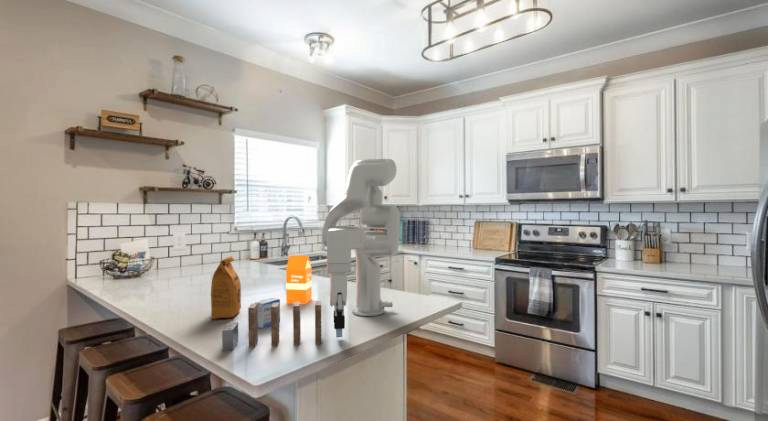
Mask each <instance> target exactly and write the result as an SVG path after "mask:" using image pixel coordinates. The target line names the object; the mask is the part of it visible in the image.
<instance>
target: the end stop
mask: <svg viewBox="0 0 768 421" xmlns="http://www.w3.org/2000/svg"><path fill="white" fill-rule="evenodd" d="M221 336H222V337H221V338H222V341H221V343H222V344H221V347H222V348H221V349H222V350H221V351H226V352H227V351H234V350H235V348H236V346H237V344H238V343H239V322H237V321H236V322H228V323H226V325H225V326H224V327H223V329H222V330H221Z"/></svg>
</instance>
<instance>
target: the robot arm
mask: <svg viewBox="0 0 768 421" xmlns="http://www.w3.org/2000/svg"><path fill="white" fill-rule="evenodd" d="M396 175H397V164H396V162H395V161H394V159H392V158H367V159H366V158H364V159H360V160H356V161H355V162H353V164H352V166H351V167H350V169H349V173H348V177H347V181H346V186H345V189H344V194H343V198H342V199H341V200H340V201H338V202H337V203H336V204H335V205H333V207H332V208H331V209H330V210H329V212H328V213H327V214H326V216H325V219H324V223H323V227H322V230H321V231H322V232H321V233H322V234H321V241H322V242H321V243H322V244H323V246H324V247H326V274H329V306H330V307H331V308H332V307H333V306H334V309H333V329H334V330H336V329H342V330H344V329H345V325H346V324H345V322H346V321H345V320H346V319H345V317H346V316H345V307H346V306H347V299H348V298H347V297H348V274H351V273H352V250H354V253H355V269H356V270H355V271H356V272H355V273H356V274H355V275H356V277H355V278H356V284H355V285H356V287H355V288H356V289H355V290H356V292H355V293H356V294H355V295H356V297H355V299H356V306H354V307H352V311H351V312H352V313H353V314H354V315H356V316H361V317H375V316H379V315H382V314H384V313H385V308H393V304H394V303H393V301H387V300H386V301H383V300H382V299H381V296H382V295H381V293H382V292H381V287H382V286H381V277H382V276H381V275H382V274H381V273H382V272H381V265H380V263H379V261H378V260H377V258H376V257H385V258H386V257H388V258H389V257H395V256H396V255H397V254H398V251H399V245H400V244H399V243H400V242H399V241H400V224H401V219H400V218H401V216H400V211H399V208H398V207H397V206H396V205H394V204H383V202H382V201H383V193H382V190H381V188H380V187H386V186H387V185H389V184H390V183H392V181H394V180H395V177H396ZM358 211H359V224H360V226H361V227H363V228H364V229H373V230H374V229H378V230H379V229H380V230H381V229H382V230H383V229H384V230H386V231H364V230H363V229H362V228H361V227H359V226H349V225H347V226H346V225H338V223H339V222H340V221H341V220H342V219H343V218H345V217H347V216H349V215H351V214H353V213H356V212H358ZM337 295H338V298H337ZM336 304H338V306H336ZM337 308H338V309H337Z"/></svg>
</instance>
